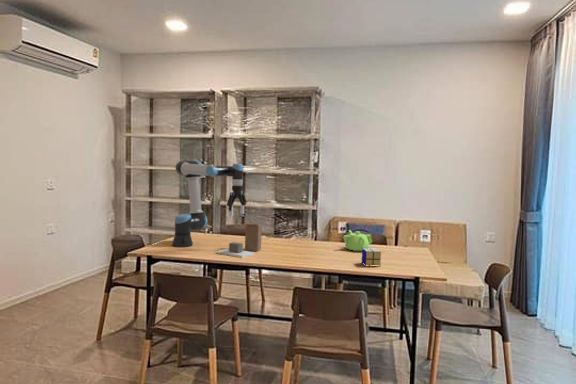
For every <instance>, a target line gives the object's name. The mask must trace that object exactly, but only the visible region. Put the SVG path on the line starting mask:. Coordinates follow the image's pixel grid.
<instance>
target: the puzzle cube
mask: <svg viewBox="0 0 576 384" xmlns="http://www.w3.org/2000/svg"><path fill="white" fill-rule="evenodd" d="M381 257H382V252H381V251H380V250H379V249H378V248H368V249H362V251H361V264H362V263H364V264H365V265H380V266H381V259H382V258H381ZM365 265H364V266H365Z"/></svg>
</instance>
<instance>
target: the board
mask: <svg viewBox="0 0 576 384" xmlns="http://www.w3.org/2000/svg"><path fill="white" fill-rule="evenodd" d="M216 254H219V255H224V256H229V257H234V256H235V257H236V258H246V257H250V256H254V254H255V251H246V250H243V251H242V252H241V253H234V252H229V247H227V248H224V249H221V250H217V251H216ZM235 257H234V258H235Z"/></svg>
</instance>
